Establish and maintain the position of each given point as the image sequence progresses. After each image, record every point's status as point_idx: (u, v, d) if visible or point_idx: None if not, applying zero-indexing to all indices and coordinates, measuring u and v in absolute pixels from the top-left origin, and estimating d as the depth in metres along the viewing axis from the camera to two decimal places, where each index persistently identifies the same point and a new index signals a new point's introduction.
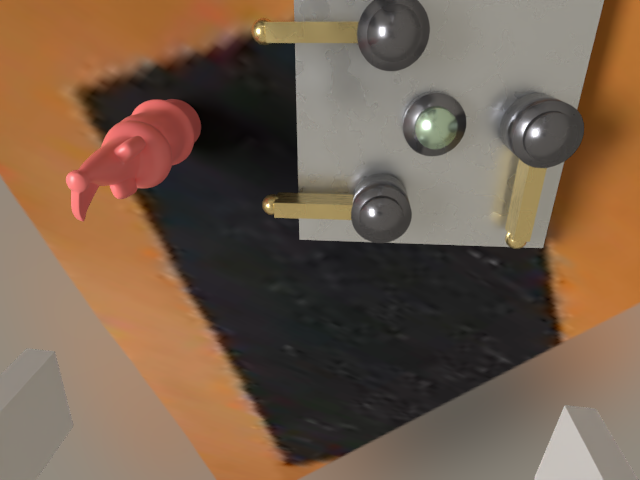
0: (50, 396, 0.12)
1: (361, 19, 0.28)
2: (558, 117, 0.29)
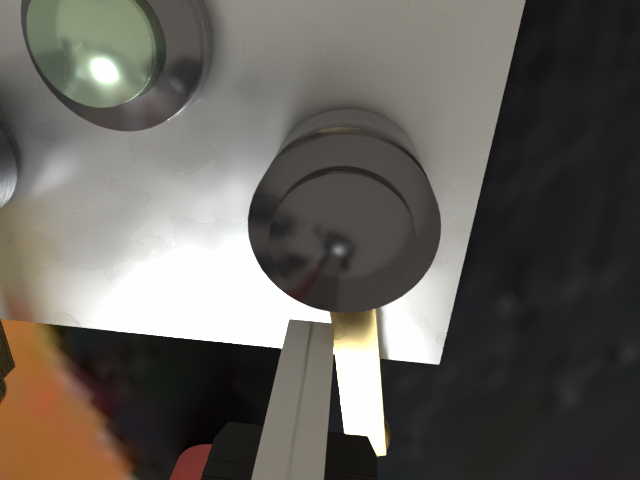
0: None
1: None
2: None
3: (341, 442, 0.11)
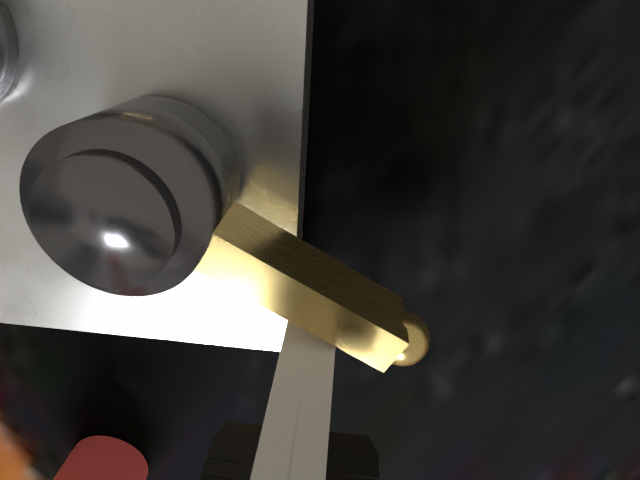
0: None
1: None
2: None
3: (343, 442, 0.11)
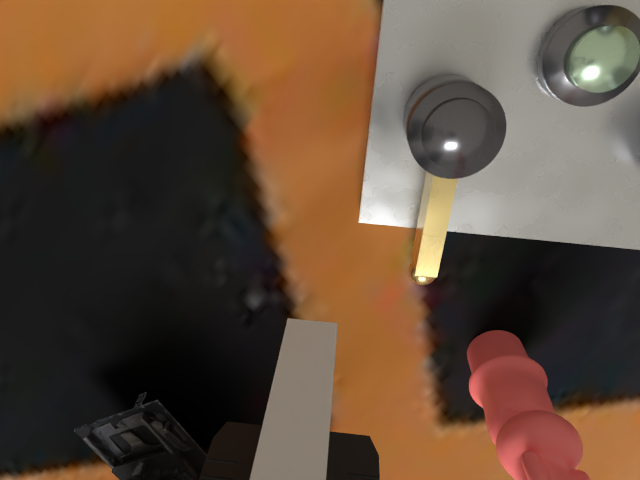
0: None
1: (432, 172, 0.22)
2: None
3: (343, 442, 0.11)
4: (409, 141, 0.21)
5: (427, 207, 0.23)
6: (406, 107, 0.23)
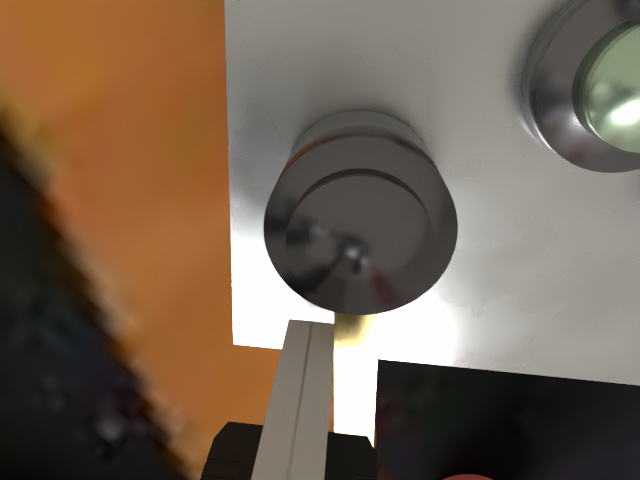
0: None
1: (326, 306, 0.11)
2: None
3: (341, 442, 0.11)
4: (270, 255, 0.11)
5: None
6: None
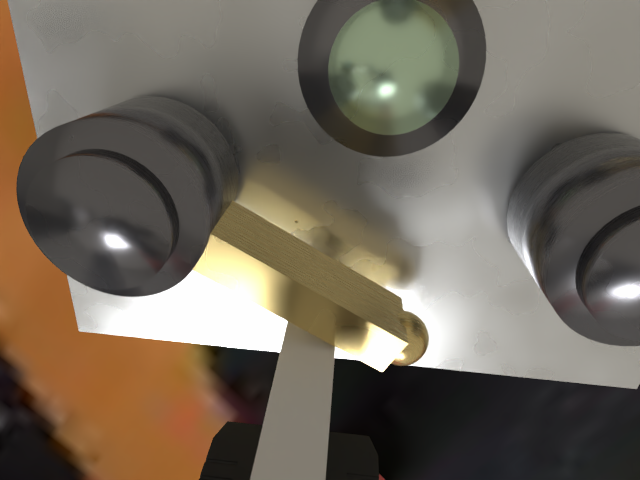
0: None
1: (175, 280, 0.11)
2: None
3: (343, 442, 0.11)
4: (105, 291, 0.12)
5: (257, 301, 0.12)
6: None
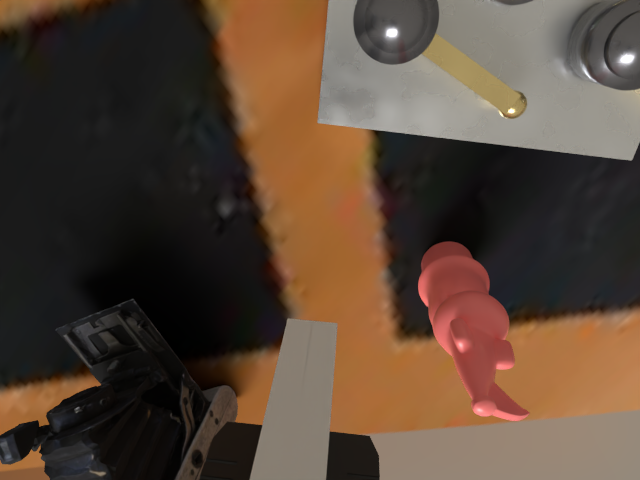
0: None
1: (417, 54, 0.24)
2: None
3: (343, 442, 0.11)
4: (381, 61, 0.25)
5: (448, 72, 0.25)
6: None
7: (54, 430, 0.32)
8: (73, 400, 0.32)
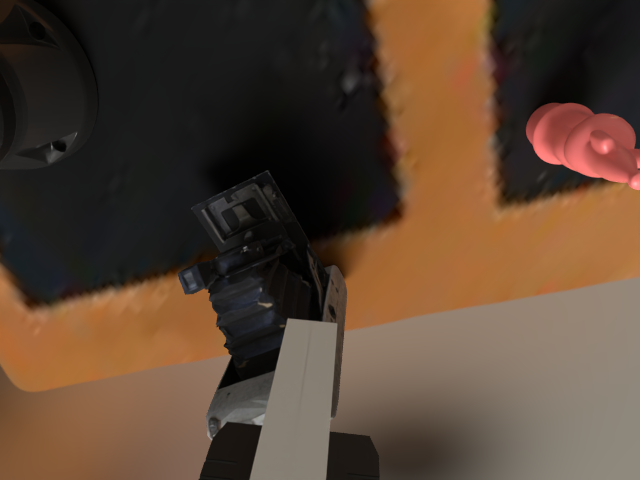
0: None
1: None
2: None
3: (343, 442, 0.11)
4: None
5: None
6: None
7: (220, 273, 0.35)
8: (233, 248, 0.36)
